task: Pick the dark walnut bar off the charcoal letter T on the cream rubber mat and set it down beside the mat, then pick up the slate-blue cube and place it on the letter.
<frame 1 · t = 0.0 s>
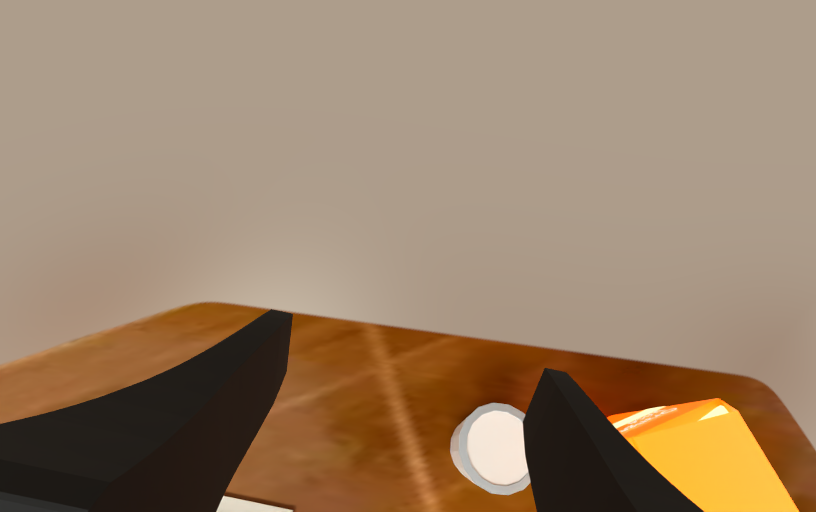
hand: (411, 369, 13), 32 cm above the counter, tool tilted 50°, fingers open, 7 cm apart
white cup: (478, 448, 42), on the counter
orange juice: (601, 474, 42), on the counter
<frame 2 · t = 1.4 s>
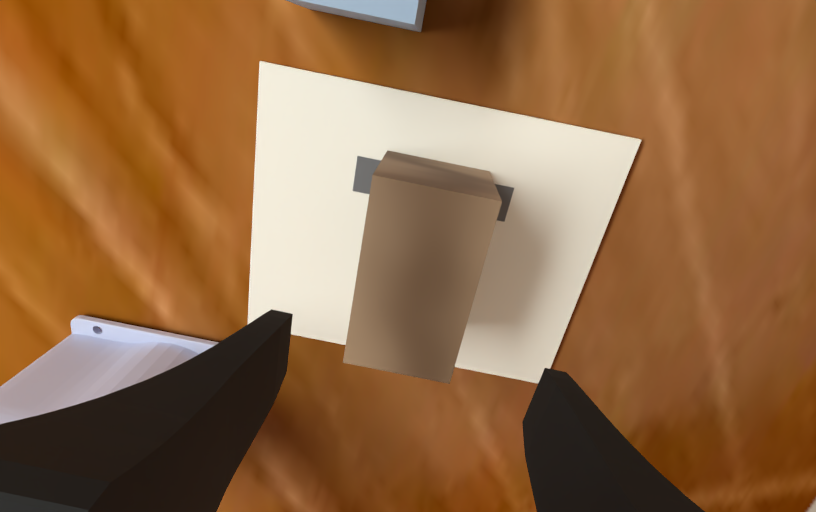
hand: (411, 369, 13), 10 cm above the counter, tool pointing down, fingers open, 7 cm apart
letter mat: (420, 241, 21), on the counter
walnut bar: (420, 244, 21), resting on letter mat
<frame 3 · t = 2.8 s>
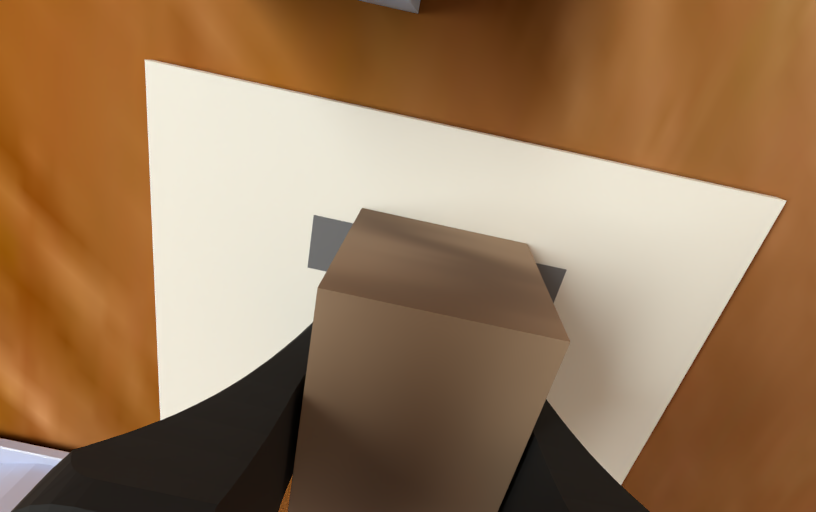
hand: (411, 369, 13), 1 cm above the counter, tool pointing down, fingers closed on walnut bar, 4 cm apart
letter mat: (414, 340, 14), on the counter
walnut bar: (414, 347, 13), resting on letter mat, touching gripper
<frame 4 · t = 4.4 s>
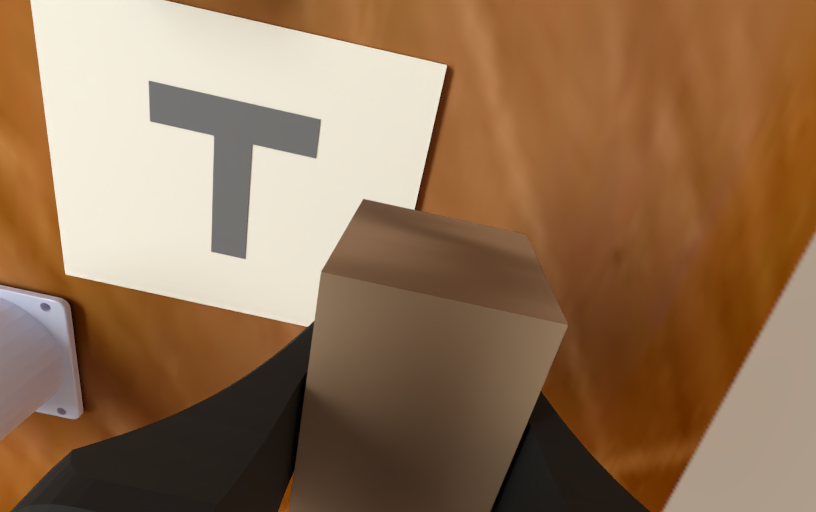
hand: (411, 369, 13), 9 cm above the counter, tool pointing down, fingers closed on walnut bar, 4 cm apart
letter mat: (234, 181, 20), on the counter
walnut bar: (414, 337, 14), point 7 cm above the counter, touching gripper
when the fingers open (2 cm above the counter, at t = 6.3 s): walnut bar drops 1 cm, on the counter.
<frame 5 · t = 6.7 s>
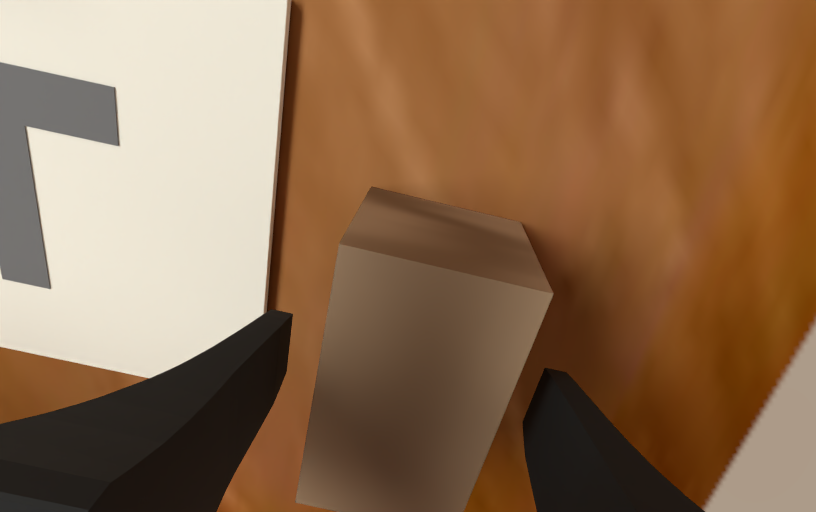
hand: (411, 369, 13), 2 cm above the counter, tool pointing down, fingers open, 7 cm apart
letter mat: (17, 180, 14), on the counter
walnut bar: (415, 315, 15), on the counter
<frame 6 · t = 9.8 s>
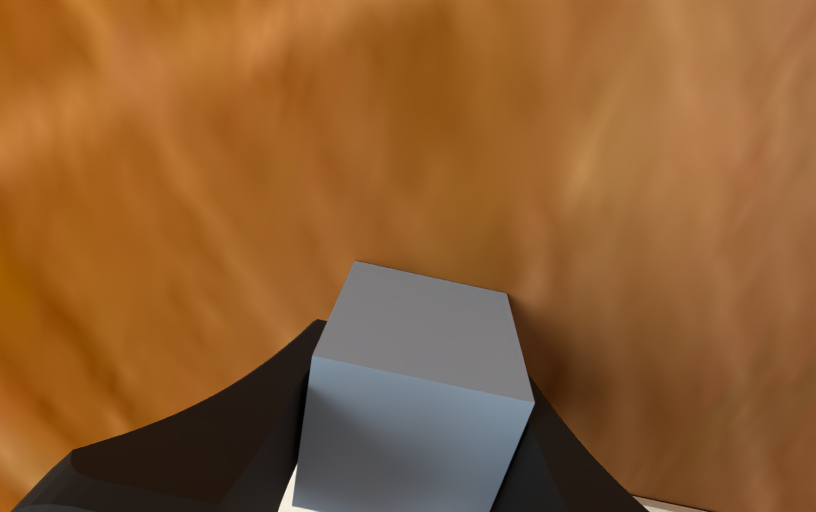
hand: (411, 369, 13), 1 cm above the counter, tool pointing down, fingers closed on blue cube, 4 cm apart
blue cube: (414, 340, 14), on the counter, touching gripper
when the fingers open (3 cm above the counter, at t = 13.0 s): blue cube drops 1 cm, resting on letter mat.
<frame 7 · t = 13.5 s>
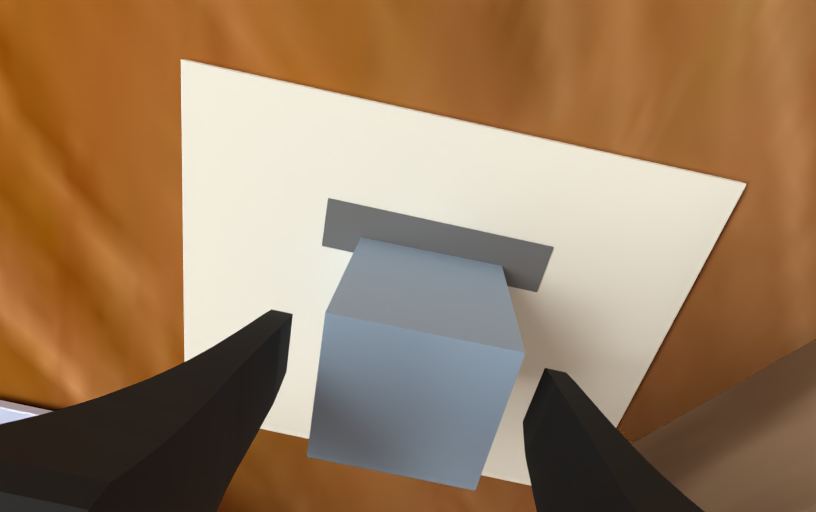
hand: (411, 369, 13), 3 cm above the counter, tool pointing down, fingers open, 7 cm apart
letter mat: (417, 313, 15), on the counter
walnut bar: (751, 426, 16), on the counter
blue cube: (417, 312, 15), resting on letter mat
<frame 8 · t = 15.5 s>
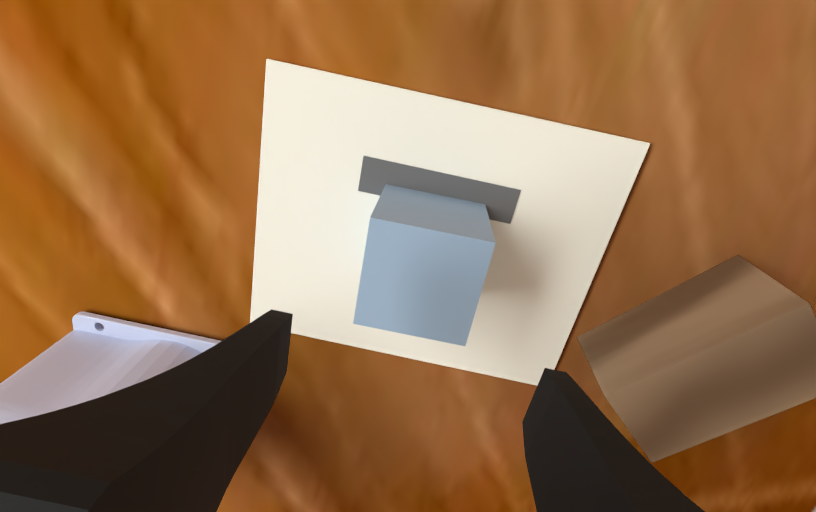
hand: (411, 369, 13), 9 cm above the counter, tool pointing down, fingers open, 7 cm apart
letter mat: (425, 242, 21), on the counter
walnut bar: (671, 329, 22), on the counter
blue cube: (425, 240, 21), resting on letter mat
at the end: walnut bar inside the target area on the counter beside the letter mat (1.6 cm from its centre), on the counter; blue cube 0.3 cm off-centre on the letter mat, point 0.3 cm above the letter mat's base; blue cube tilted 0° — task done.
